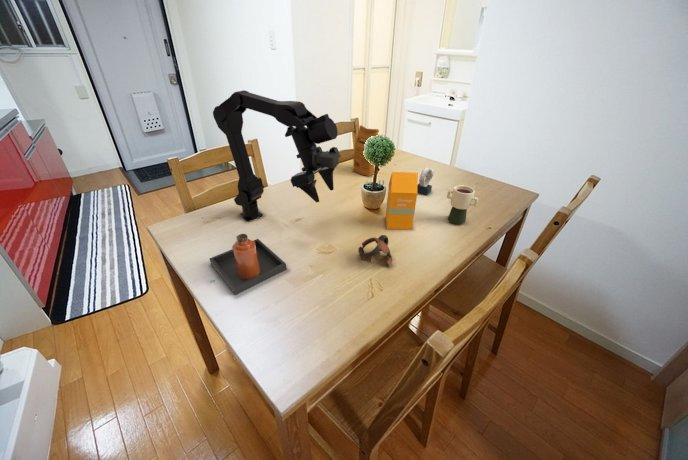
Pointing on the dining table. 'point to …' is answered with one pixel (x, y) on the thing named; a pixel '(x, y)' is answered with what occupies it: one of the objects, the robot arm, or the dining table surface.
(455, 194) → the character mug
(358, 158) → the coffee package
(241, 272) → the bottle
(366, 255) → the brown looped piece
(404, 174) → the orange juice
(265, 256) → the tray
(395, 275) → the dining table surface
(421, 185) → the stone sculpture
